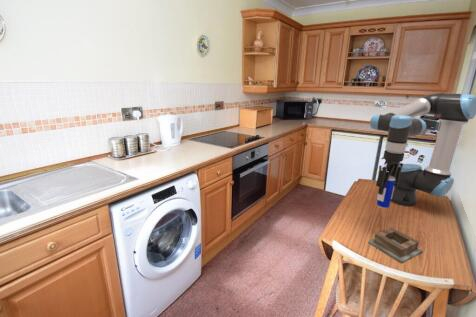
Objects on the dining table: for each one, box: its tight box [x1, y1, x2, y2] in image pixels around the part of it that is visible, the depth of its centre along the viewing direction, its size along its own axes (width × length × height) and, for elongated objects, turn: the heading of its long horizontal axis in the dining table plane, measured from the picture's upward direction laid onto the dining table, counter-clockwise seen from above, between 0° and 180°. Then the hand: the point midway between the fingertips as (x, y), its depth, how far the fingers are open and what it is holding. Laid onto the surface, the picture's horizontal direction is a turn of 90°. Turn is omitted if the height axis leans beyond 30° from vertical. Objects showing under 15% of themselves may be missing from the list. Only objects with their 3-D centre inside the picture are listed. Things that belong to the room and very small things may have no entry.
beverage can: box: [376, 175, 395, 209], centre depth 115 cm, size 5×5×15 cm
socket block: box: [368, 227, 424, 264], centre depth 110 cm, size 15×15×5 cm
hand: (384, 198), depth 116 cm, fingers closed on beverage can, 5 cm apart
